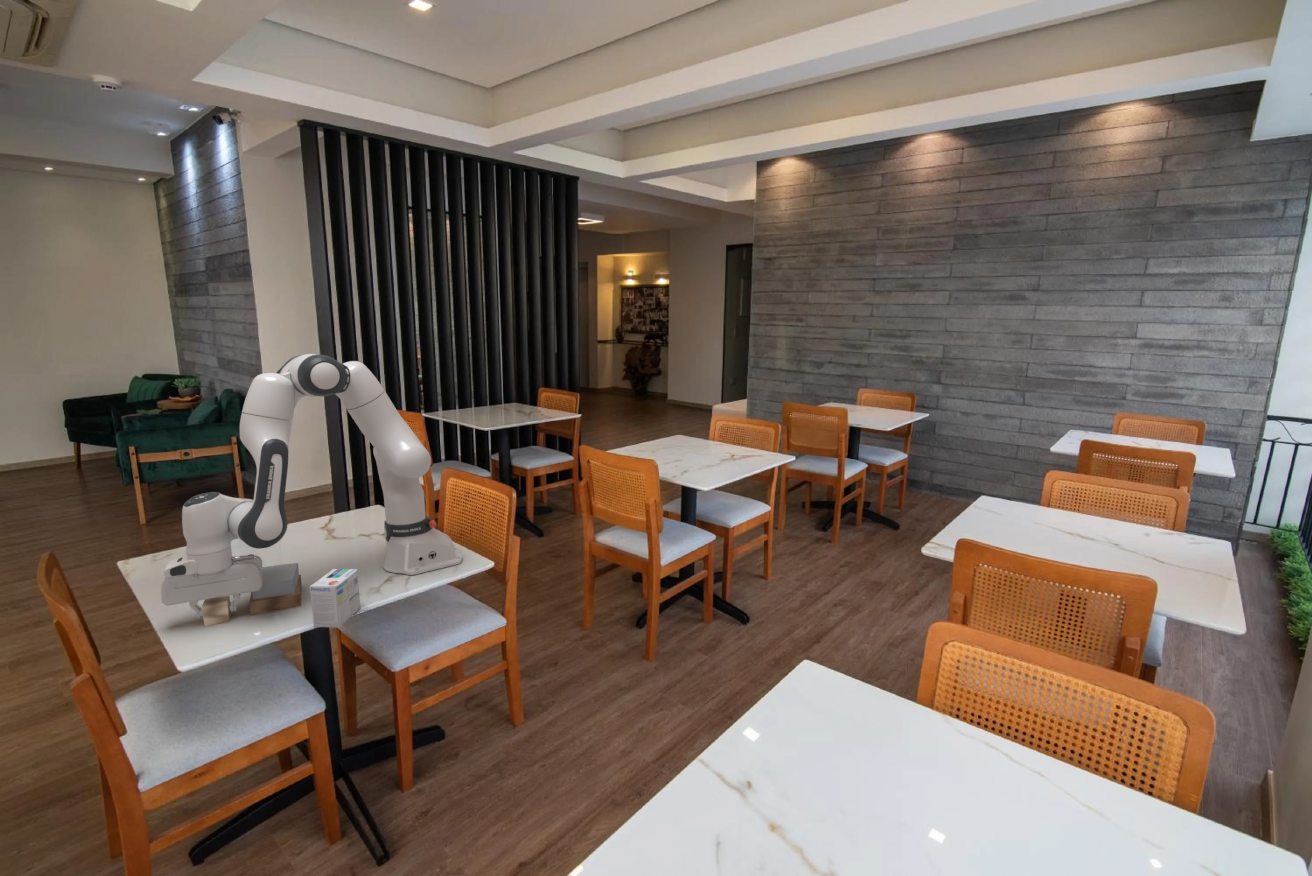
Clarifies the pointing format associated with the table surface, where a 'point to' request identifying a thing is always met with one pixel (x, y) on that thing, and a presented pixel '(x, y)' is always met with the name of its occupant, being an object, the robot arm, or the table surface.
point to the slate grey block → (278, 581)
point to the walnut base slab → (276, 601)
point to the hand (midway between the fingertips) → (217, 613)
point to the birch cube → (216, 610)
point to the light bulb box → (335, 597)
